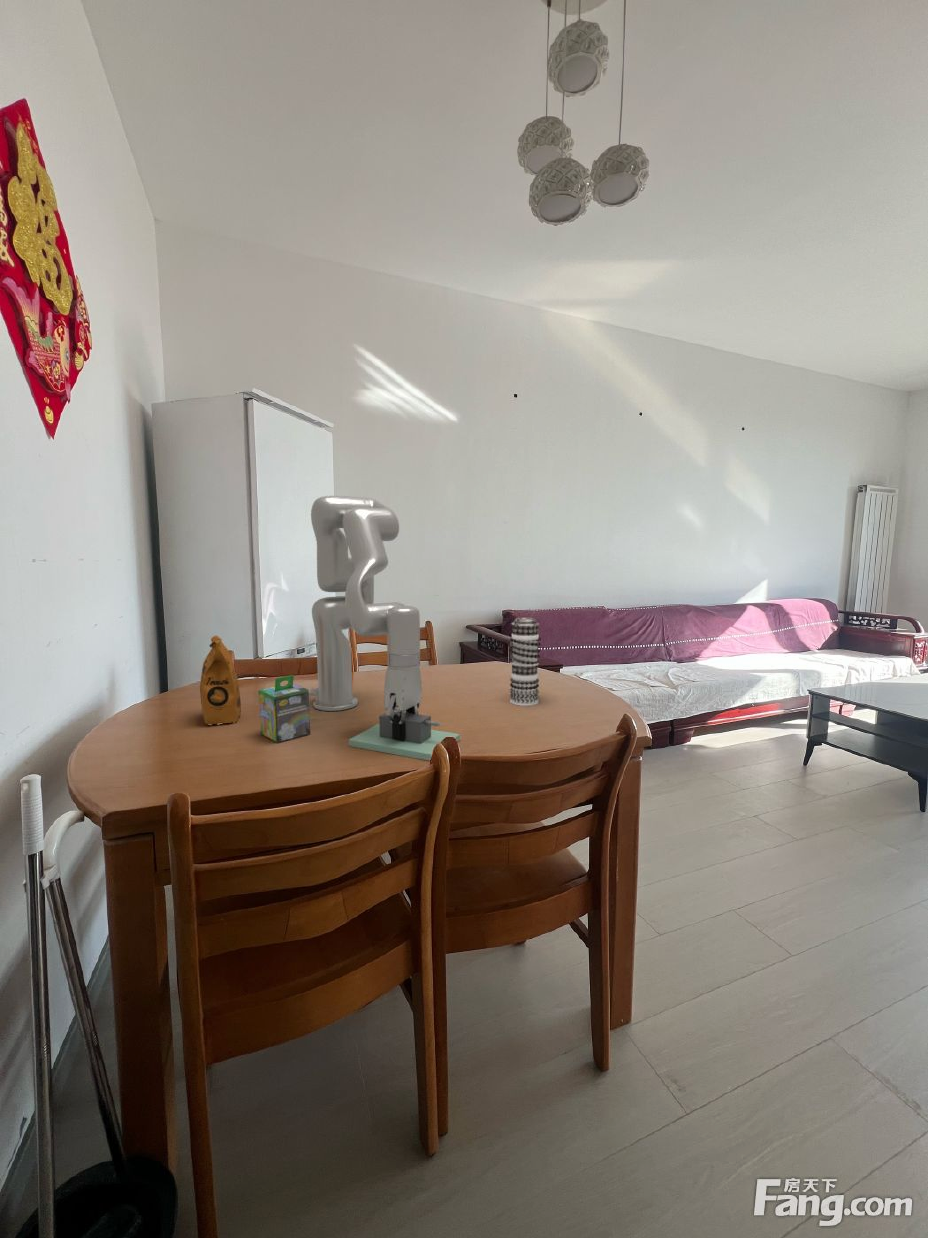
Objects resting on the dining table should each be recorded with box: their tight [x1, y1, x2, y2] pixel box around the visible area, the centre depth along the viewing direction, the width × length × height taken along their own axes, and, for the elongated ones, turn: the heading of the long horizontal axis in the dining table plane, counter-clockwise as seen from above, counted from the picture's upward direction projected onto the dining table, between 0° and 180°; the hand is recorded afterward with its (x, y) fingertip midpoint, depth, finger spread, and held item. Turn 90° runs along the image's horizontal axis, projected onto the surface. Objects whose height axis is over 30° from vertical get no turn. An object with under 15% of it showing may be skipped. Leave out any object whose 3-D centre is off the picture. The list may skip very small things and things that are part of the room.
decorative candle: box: [509, 617, 542, 707], centre depth 159 cm, size 9×9×25 cm
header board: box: [348, 723, 461, 762], centre depth 127 cm, size 22×14×4 cm, turn 66°
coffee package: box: [199, 635, 242, 725], centre depth 144 cm, size 10×12×22 cm
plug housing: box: [378, 711, 440, 744], centre depth 126 cm, size 14×5×5 cm, turn 66°
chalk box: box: [257, 674, 311, 744], centre depth 132 cm, size 9×9×15 cm
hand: (405, 734), depth 127 cm, fingers closed on plug housing, 4 cm apart
